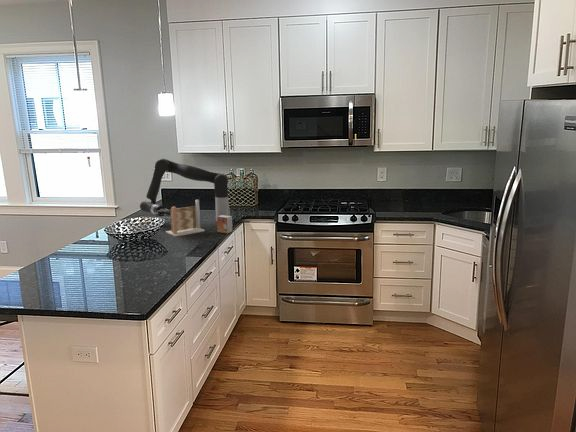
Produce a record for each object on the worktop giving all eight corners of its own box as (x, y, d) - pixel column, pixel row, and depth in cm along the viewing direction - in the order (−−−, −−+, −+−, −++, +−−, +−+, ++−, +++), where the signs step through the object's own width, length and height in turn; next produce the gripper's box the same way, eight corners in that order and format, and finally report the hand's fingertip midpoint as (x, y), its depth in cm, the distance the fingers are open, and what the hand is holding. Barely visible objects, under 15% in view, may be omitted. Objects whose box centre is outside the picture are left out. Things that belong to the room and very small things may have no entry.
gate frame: (194, 227, 304) (193, 198, 300) (204, 231, 295) (203, 200, 291) (165, 232, 291) (164, 202, 287) (175, 236, 281) (173, 204, 277)
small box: (217, 232, 292) (216, 216, 290) (222, 230, 297) (221, 214, 295) (227, 233, 289) (227, 217, 286) (232, 231, 293) (232, 215, 291)
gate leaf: (195, 227, 297) (194, 205, 294) (196, 228, 296) (195, 206, 293) (171, 231, 286) (170, 209, 283) (172, 232, 285) (171, 209, 282)
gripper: (148, 205, 305) (160, 209, 292) (166, 203, 313) (179, 206, 300) (149, 216, 306) (161, 220, 293) (167, 214, 315) (179, 217, 302)
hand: (170, 213), depth 297 cm, fingers closed
